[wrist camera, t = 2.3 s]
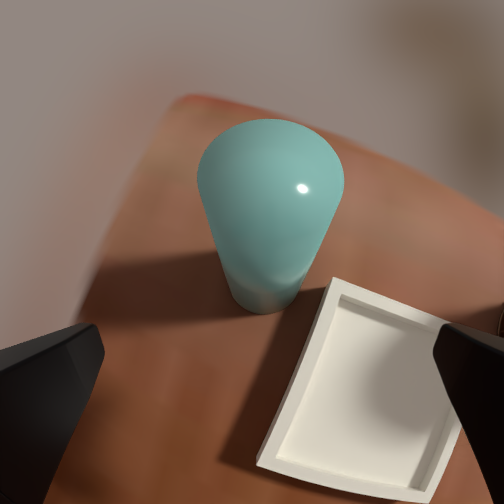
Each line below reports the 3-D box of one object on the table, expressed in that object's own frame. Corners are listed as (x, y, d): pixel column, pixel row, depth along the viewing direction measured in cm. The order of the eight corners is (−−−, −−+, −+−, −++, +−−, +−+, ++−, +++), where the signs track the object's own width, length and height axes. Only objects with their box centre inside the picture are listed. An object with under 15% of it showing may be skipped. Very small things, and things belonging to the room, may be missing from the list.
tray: (415, 494, 15) (428, 503, 13) (256, 456, 17) (256, 465, 15) (468, 340, 19) (485, 335, 17) (326, 286, 21) (333, 276, 19)
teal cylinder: (285, 325, 20) (318, 262, 9) (216, 297, 21) (170, 207, 10) (310, 259, 22) (357, 144, 11) (245, 234, 23) (234, 106, 11)
